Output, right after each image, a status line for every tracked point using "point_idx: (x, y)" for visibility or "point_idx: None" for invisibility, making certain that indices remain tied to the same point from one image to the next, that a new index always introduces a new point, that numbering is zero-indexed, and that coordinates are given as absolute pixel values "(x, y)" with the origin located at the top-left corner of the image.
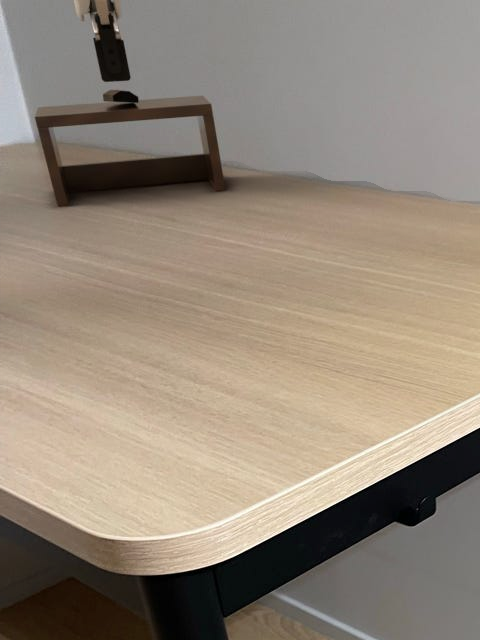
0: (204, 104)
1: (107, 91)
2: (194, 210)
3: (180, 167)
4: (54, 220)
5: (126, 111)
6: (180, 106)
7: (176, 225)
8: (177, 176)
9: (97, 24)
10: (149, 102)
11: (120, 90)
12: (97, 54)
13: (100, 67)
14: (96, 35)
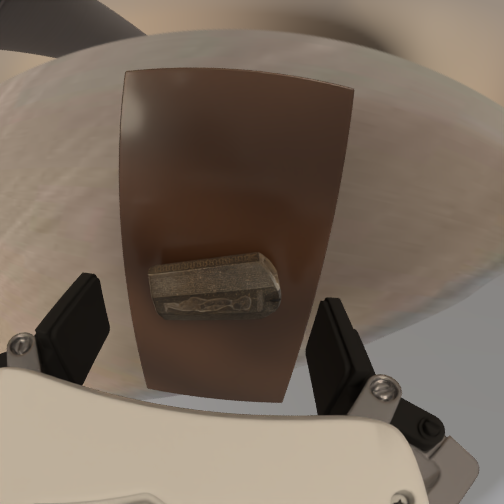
0: (146, 382)
1: (267, 277)
2: (76, 258)
3: None
4: (88, 96)
5: (125, 273)
6: (140, 356)
7: (25, 229)
8: None
9: None
10: (238, 333)
11: (261, 305)
12: (52, 309)
13: (68, 290)
14: (12, 343)
